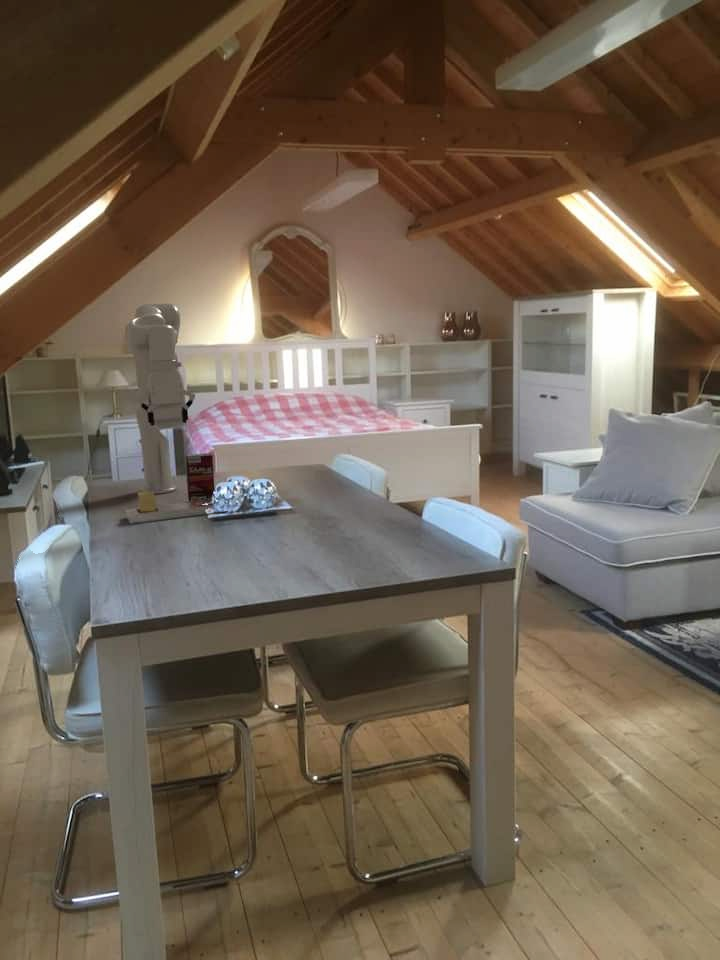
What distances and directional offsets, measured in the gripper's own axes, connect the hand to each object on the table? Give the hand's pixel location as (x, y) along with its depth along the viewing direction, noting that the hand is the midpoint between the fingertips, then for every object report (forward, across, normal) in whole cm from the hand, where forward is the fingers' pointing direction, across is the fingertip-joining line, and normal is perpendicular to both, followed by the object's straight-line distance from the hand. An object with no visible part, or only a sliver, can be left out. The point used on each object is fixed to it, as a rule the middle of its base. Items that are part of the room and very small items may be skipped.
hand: (168, 423), depth 245 cm
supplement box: (+29, -12, -18) cm, 36 cm away
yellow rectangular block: (+29, +8, -3) cm, 30 cm away
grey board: (+29, -1, -3) cm, 29 cm away
